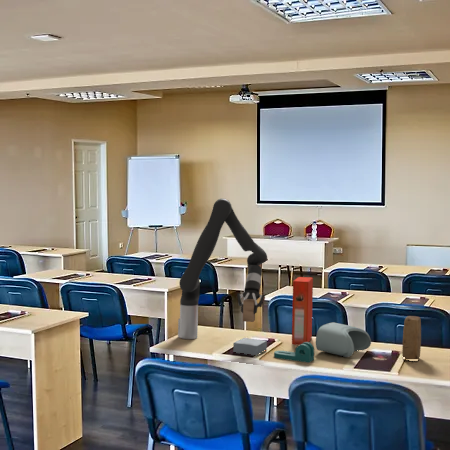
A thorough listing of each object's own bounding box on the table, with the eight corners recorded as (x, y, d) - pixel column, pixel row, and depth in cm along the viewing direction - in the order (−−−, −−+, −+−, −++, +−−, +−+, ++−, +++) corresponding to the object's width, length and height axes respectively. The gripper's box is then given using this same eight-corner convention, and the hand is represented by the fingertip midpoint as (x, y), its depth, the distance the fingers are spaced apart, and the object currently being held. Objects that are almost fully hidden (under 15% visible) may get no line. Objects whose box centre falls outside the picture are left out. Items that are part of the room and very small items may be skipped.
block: (417, 363, 295) (419, 319, 294) (400, 361, 298) (402, 317, 297) (421, 357, 304) (423, 315, 303) (405, 355, 308) (407, 314, 307)
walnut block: (244, 319, 314) (245, 298, 314) (254, 319, 313) (255, 299, 313) (242, 321, 309) (243, 300, 309) (253, 321, 308) (253, 301, 308)
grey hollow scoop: (335, 345, 324) (337, 320, 323) (370, 353, 314) (373, 327, 312) (314, 353, 307) (316, 327, 305) (351, 362, 296) (354, 335, 295)
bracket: (313, 359, 297) (314, 342, 297) (309, 363, 291) (309, 345, 291) (277, 354, 305) (277, 338, 305) (271, 357, 299) (272, 340, 299)
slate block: (233, 353, 306) (233, 342, 306) (243, 347, 317) (243, 337, 317) (256, 356, 301) (256, 345, 301) (266, 351, 312) (266, 340, 312)
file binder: (291, 344, 326) (293, 280, 324) (296, 336, 342) (298, 276, 341) (307, 345, 324) (309, 281, 322) (311, 338, 340) (313, 277, 339)
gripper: (237, 279, 319) (232, 307, 308) (266, 280, 316) (262, 309, 305) (239, 288, 324) (234, 316, 313) (268, 289, 322) (264, 318, 310)
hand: (248, 312), depth 309 cm, fingers closed on walnut block, 5 cm apart
